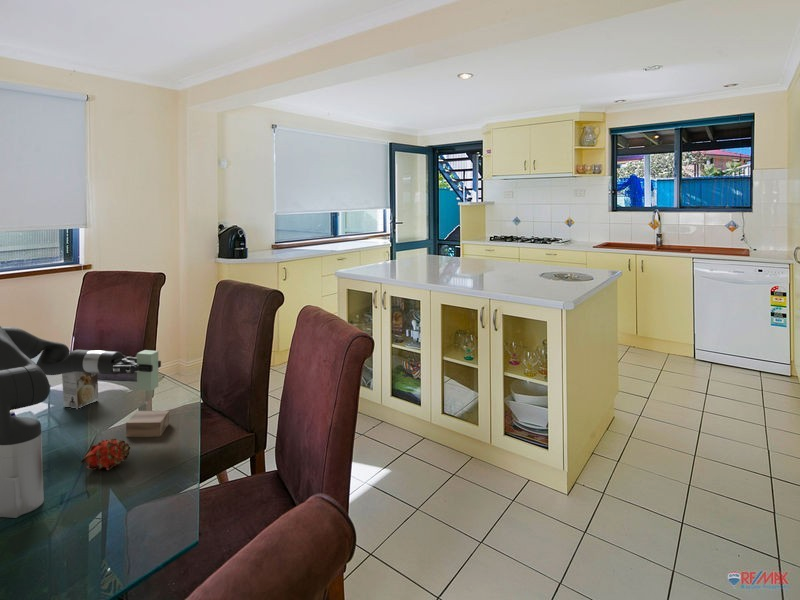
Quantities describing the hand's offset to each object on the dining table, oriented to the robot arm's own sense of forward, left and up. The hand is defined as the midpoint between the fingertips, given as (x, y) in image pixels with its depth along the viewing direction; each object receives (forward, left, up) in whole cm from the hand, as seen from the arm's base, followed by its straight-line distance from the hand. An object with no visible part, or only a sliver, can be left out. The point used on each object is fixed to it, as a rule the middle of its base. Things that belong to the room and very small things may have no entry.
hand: (156, 366), depth 153 cm
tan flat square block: (0, +3, -22) cm, 22 cm away
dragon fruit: (-25, +1, -22) cm, 33 cm away
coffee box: (+17, +37, -22) cm, 46 cm away
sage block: (0, +3, -7) cm, 8 cm away
